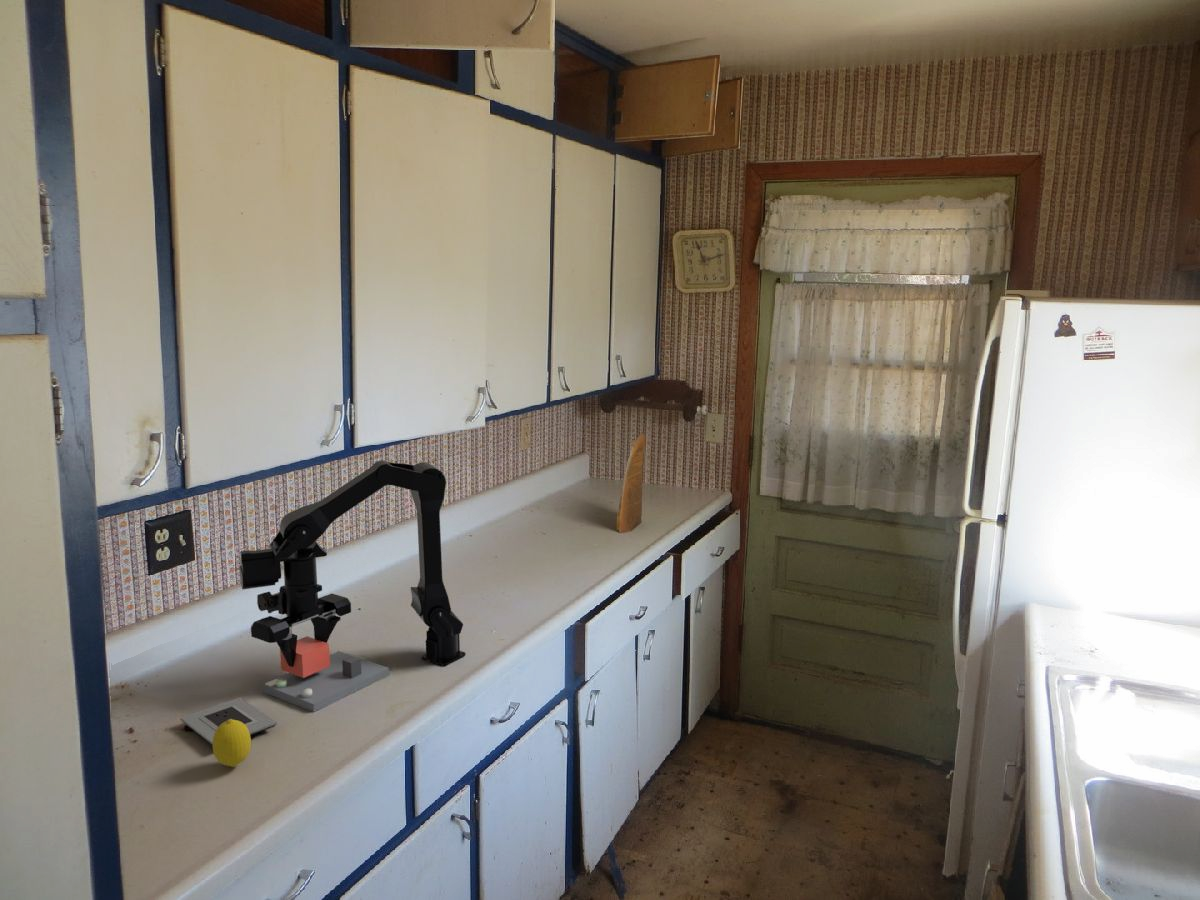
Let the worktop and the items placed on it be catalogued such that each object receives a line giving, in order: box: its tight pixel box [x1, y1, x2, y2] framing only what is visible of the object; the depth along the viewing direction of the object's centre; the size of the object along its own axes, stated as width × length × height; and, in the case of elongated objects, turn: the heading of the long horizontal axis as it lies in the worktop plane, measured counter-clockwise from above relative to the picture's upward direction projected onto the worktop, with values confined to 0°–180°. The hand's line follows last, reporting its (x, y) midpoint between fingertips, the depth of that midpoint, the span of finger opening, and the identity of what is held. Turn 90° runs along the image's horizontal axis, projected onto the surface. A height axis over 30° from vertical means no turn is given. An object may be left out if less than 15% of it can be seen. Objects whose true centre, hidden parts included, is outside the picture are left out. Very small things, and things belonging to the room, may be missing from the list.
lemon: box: [212, 719, 252, 768], centre depth 142 cm, size 6×6×8 cm
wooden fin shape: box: [616, 432, 646, 533], centre depth 276 cm, size 7×19×28 cm, turn 160°
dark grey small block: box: [342, 655, 362, 678], centre depth 171 cm, size 2×2×3 cm
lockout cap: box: [279, 636, 330, 678], centre depth 170 cm, size 6×6×4 cm
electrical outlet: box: [180, 697, 278, 746], centre depth 154 cm, size 13×10×2 cm
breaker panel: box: [262, 650, 390, 713], centre depth 171 cm, size 18×14×2 cm
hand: (305, 660), depth 171 cm, fingers closed on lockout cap, 6 cm apart
